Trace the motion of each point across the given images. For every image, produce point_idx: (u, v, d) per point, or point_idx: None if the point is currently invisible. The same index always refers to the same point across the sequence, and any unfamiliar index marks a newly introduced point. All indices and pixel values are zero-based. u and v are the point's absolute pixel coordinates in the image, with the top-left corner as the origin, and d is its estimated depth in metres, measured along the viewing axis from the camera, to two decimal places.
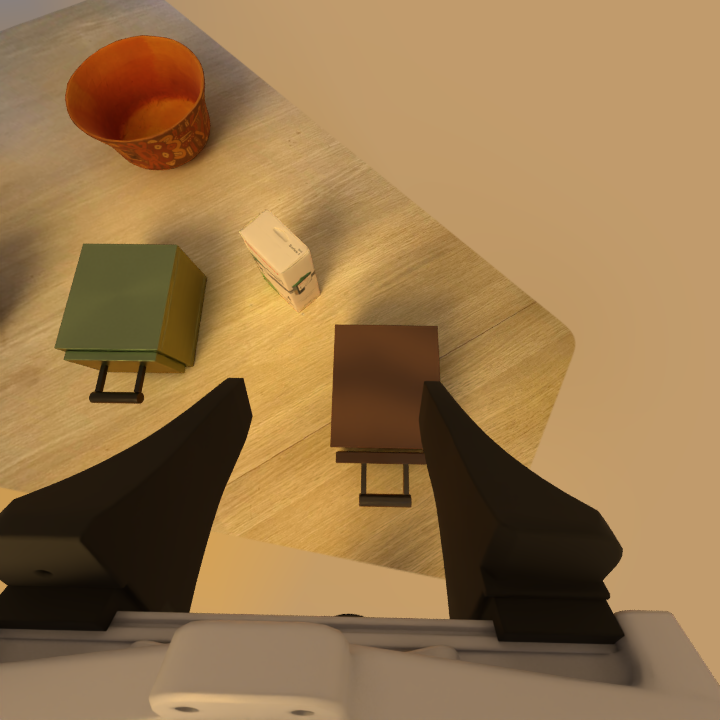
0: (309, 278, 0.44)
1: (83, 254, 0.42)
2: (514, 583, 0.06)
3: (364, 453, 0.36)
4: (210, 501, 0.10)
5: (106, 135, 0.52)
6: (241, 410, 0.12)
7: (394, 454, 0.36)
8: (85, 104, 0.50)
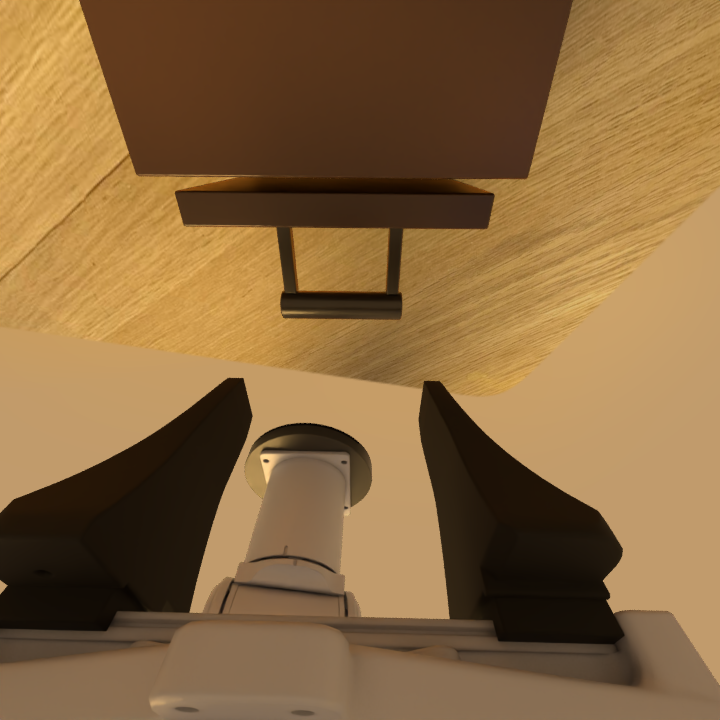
0: None
1: None
2: (514, 583, 0.06)
3: (264, 195, 0.11)
4: (210, 501, 0.10)
5: None
6: (241, 410, 0.12)
7: (359, 198, 0.11)
8: None
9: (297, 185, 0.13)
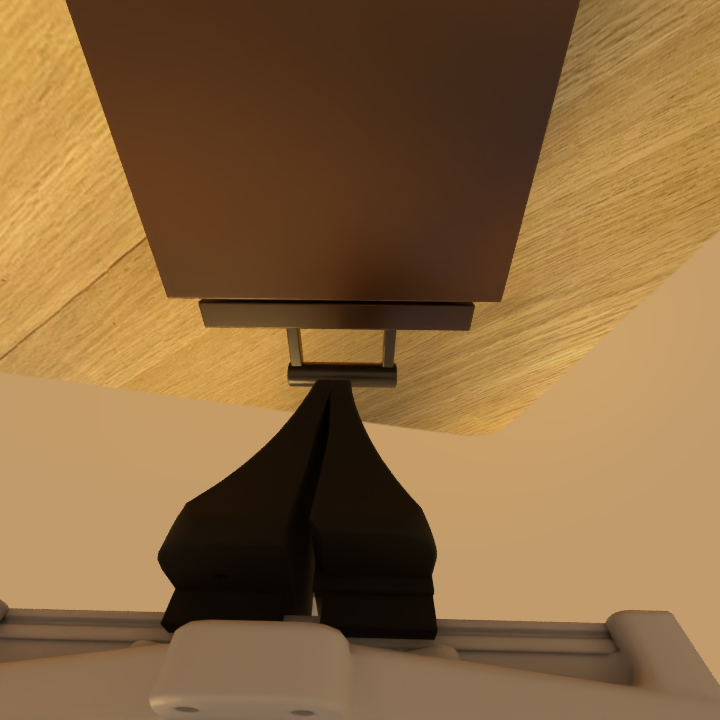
0: None
1: None
2: (340, 579, 0.06)
3: (275, 305, 0.13)
4: None
5: None
6: None
7: (358, 308, 0.13)
8: None
9: None
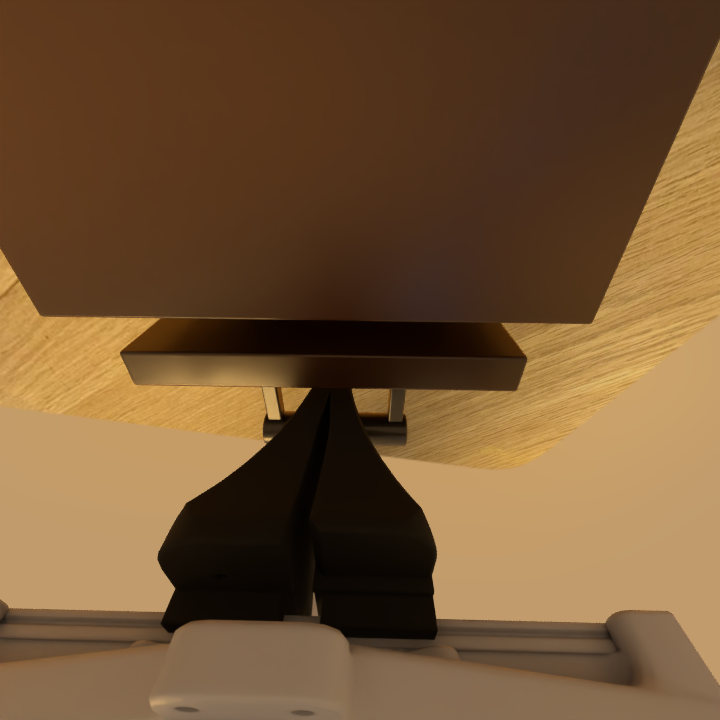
0: None
1: None
2: (340, 579, 0.06)
3: (233, 357, 0.09)
4: None
5: None
6: None
7: (355, 361, 0.09)
8: None
9: None
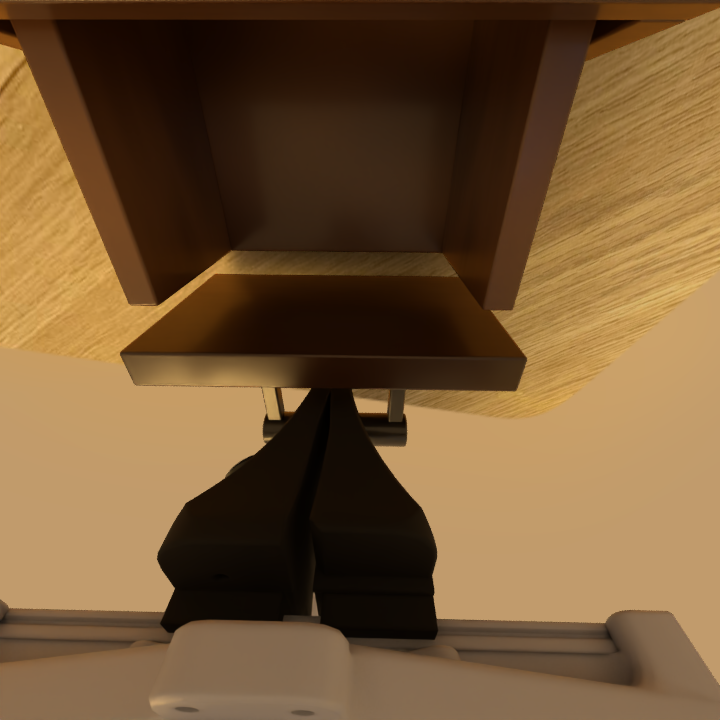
0: None
1: None
2: (340, 579, 0.06)
3: (233, 357, 0.09)
4: None
5: None
6: None
7: (354, 361, 0.09)
8: None
9: (279, 317, 0.11)
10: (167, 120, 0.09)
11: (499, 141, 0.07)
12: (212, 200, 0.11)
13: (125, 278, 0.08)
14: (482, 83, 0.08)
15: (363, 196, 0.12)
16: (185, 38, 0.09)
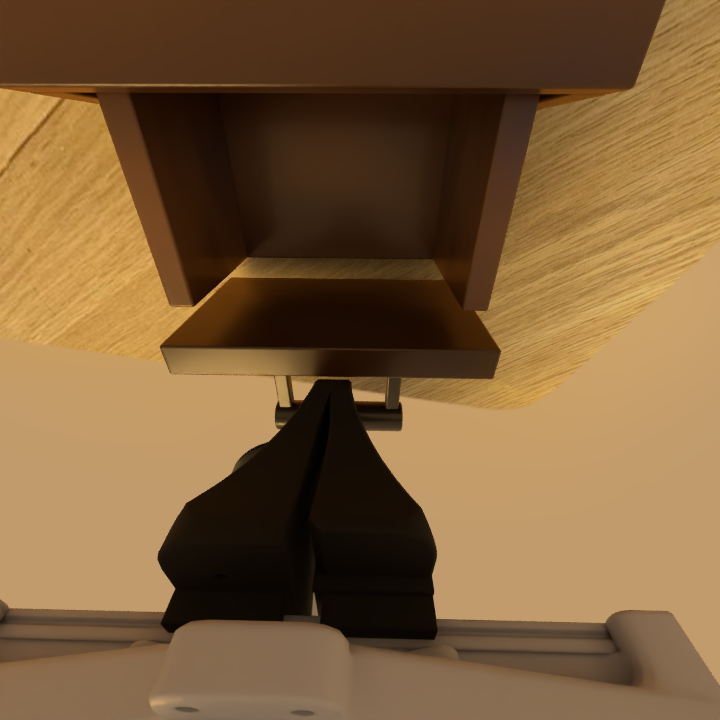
0: None
1: None
2: (340, 579, 0.06)
3: (255, 350, 0.11)
4: None
5: None
6: None
7: (356, 353, 0.11)
8: None
9: (291, 316, 0.13)
10: (200, 152, 0.10)
11: (474, 174, 0.09)
12: (233, 214, 0.13)
13: (168, 284, 0.10)
14: (463, 121, 0.10)
15: (364, 210, 0.14)
16: None
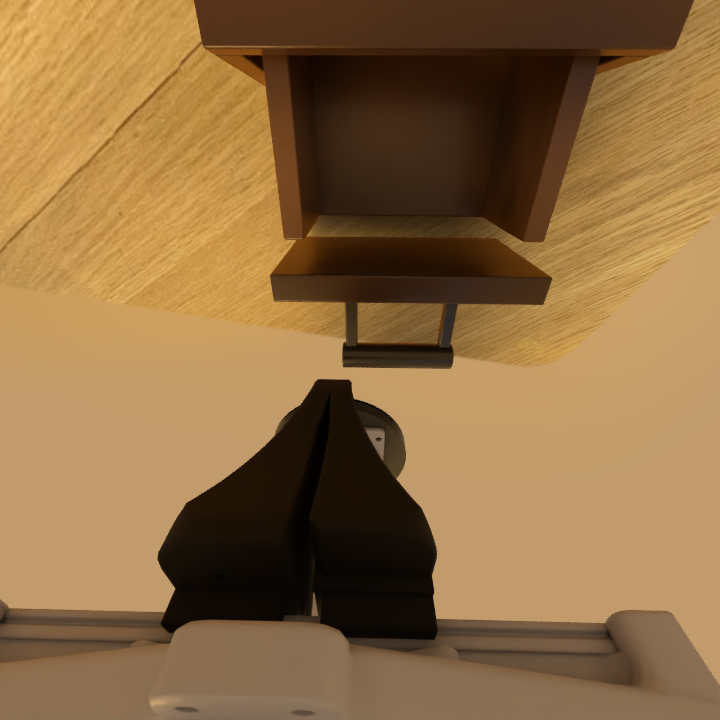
0: None
1: None
2: (340, 579, 0.06)
3: (349, 278, 0.13)
4: None
5: None
6: None
7: (433, 280, 0.13)
8: None
9: (368, 258, 0.15)
10: (307, 114, 0.13)
11: (538, 127, 0.11)
12: (316, 174, 0.15)
13: (286, 219, 0.12)
14: (522, 89, 0.12)
15: (425, 172, 0.16)
16: (312, 57, 0.13)
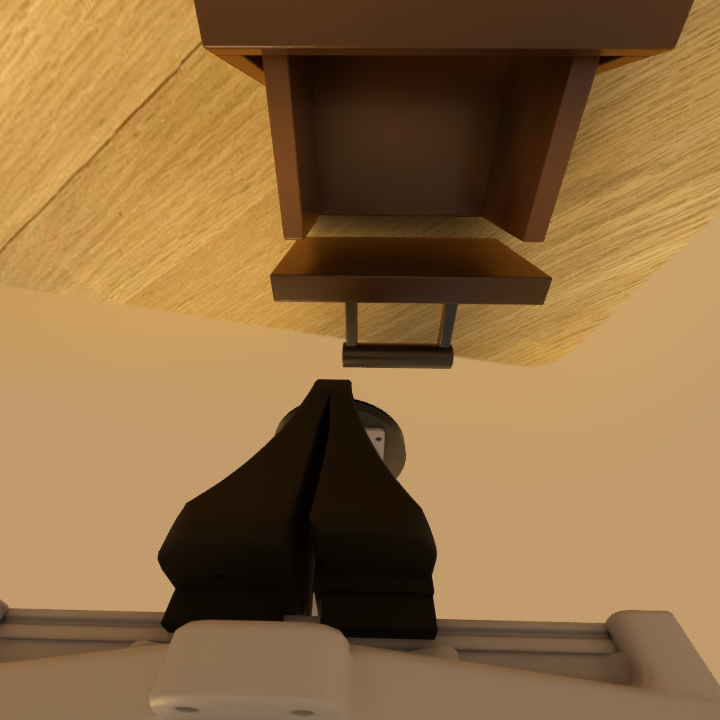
0: None
1: None
2: (340, 579, 0.06)
3: (349, 278, 0.13)
4: None
5: None
6: None
7: (433, 280, 0.13)
8: None
9: (368, 258, 0.15)
10: (307, 114, 0.13)
11: (538, 127, 0.11)
12: (316, 174, 0.15)
13: (286, 219, 0.12)
14: (522, 89, 0.12)
15: (425, 172, 0.16)
16: (312, 57, 0.13)
